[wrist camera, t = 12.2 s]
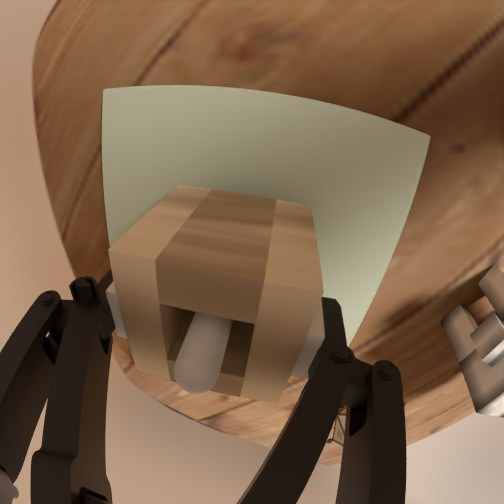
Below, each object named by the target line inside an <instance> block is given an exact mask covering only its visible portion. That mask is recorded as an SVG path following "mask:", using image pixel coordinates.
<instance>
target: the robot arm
mask: <svg viewBox="0 0 504 504" xmlns="http://www.w3.org/2000/svg"><path fill="white" fill-rule="evenodd" d="M69 287H70V290H71V293H72V297H73V300H61V297H60V295H59V293H58V292H56V291H51V290H50V291H46V292H44V293H42V294H41V295H40V296H39V297H38V298H37V299H36V301H35V302H34V303H33V305H32V306H31V307H30V309H29V310H28V311H27V313H26V314H25V316H24V317H23V318H22V320H21V321H20V323H19V324H18V326H17V327H16V329H15V330H14V332H13V333H12V335H11V336H10V338H9V339H8V341H7V343H6V344H5V346H4V347H3V349H2V351H1V352H0V504H12V500H13V498H17V497H18V495H19V493H18V490H17V488H16V487H15V486H14V485H13V483H14V482H15V480H16V479H17V477H18V475H19V473H20V471H21V468H22V466H23V463H24V460H25V457H26V454H27V451H28V448H29V445H30V442H31V439H32V436H33V433H34V431H35V428H36V425H37V423H38V420H39V418H40V415H41V413H42V410H43V408H44V405H45V403H46V401H47V398H48V402H47V407H46V414H45V421H44V429H43V437H42V446H41V448H40V450H38V451H35V452H34V454H33V456H32V461H31V504H112V494H111V487H110V483H109V481H108V479H107V476H106V467H105V426H106V403H107V388H108V377H109V368H110V359H111V351H112V344H113V338H112V335H111V334H112V332H113V331H114V329H116V332H117V335H118V336H119V337H122V338H125V339H127V335H126V332H125V328H124V324H123V320H122V316H121V312H120V308H119V304H118V299H117V295H116V290H115V285H114V280H113V275H112V270H111V269H110V271H109V272H108V273H107V274H106V276H104V277H103V279H102V280H101V281H100V282H99V283H98V284H97V282H96V280H95V279H93V278H92V277H80V278H77V279H75V280H74V281H73V282H71V284H70V286H69ZM48 332H49V335H48V336H47V337H45V336H46V335H47V333H48ZM307 373H308V381H307V383H306V385H305V387H304V389H303V390H302V392H301V395H300V397H299V399H298V401H297V403H296V405H295V407H294V409H293V411H292V413H291V415H290V417H289V419H288V420H287V422H286V424H285V426H284V428H283V430H282V431H281V433H280V435H279V437H278V439H277V440H276V442H275V444H274V446H273V447H272V449H271V451H270V452H269V454H268V456H267V458H266V459H265V461H264V463H263V464H262V466H261V467H260V469H259V471H258V472H257V474H256V475H255V477H254V478H253V480H252V482H251V483H250V485H249V486H248V488H247V489H246V491H245V492H244V494H243V495H242V496H241V498H240V499H239V501H238V502H237V504H296V503H297V501H298V499H299V497H300V495H301V494H302V492H303V490H304V488H305V486H306V484H307V482H308V480H309V478H310V476H311V474H312V472H313V470H314V468H315V465H316V463H317V461H318V459H319V457H320V455H321V452H322V450H323V448H324V445H325V443H326V441H327V438H328V436H329V433H330V431H331V429H332V426H333V423H334V421H335V418H336V416H337V413H338V410H339V408H340V405H341V404H343V405H346V420H345V433H344V444H343V454H342V462H341V470H340V478H339V485H338V491H337V497H336V504H405V492H406V429H405V413H404V401H403V391H402V382H401V374H400V371H399V369H398V368H397V367H396V365H394V364H393V363H392V362H389V361H386V360H380V361H378V362H376V363H375V364H374V365H370V364H368V363H365V362H362V361H360V360H358V359H357V358H355V356H354V354H353V352H352V350H351V349H350V348H349V347H348V346H347V340H346V334H345V327H344V323H343V316H342V309H341V306H340V304H339V303H338V301H337V300H336V299H333V298H327V297H322V298H321V301H320V304H319V306H318V309H317V312H316V314H315V317H314V319H313V322H312V325H311V327H310V330H309V332H308V335H307V337H306V340H305V342H304V344H303V347H302V349H301V352H300V354H299V356H298V359H297V361H296V363H295V366H294V368H293V370H292V373H291V375H290V376H295V377H303V378H305V377H306V375H307Z"/></svg>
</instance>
